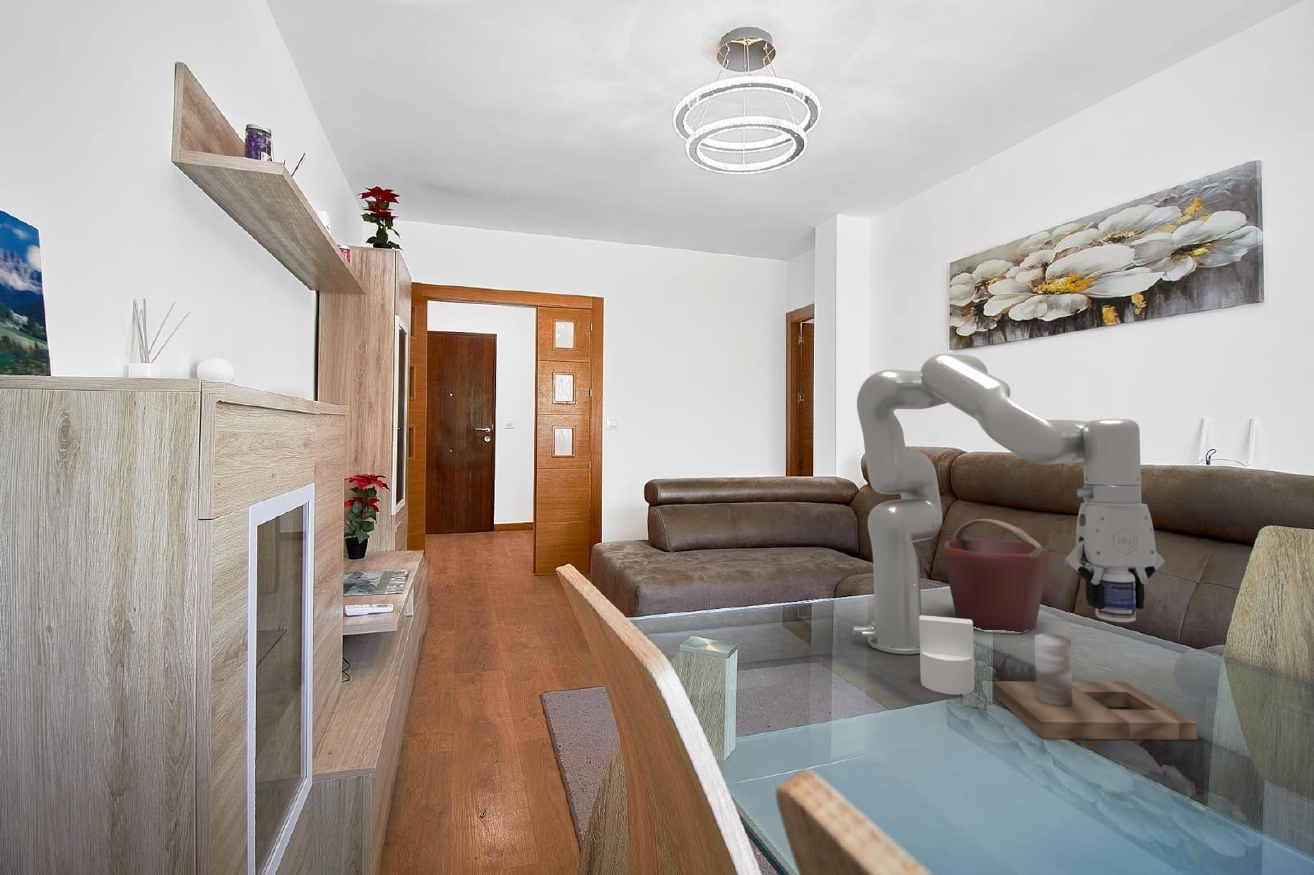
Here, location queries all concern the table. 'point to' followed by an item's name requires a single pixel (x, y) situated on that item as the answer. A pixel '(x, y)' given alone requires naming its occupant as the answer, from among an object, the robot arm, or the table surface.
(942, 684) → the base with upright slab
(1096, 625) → the table surface
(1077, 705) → the pin board
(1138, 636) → the table surface
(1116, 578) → the pill bottle
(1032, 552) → the bucket
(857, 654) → the table surface
